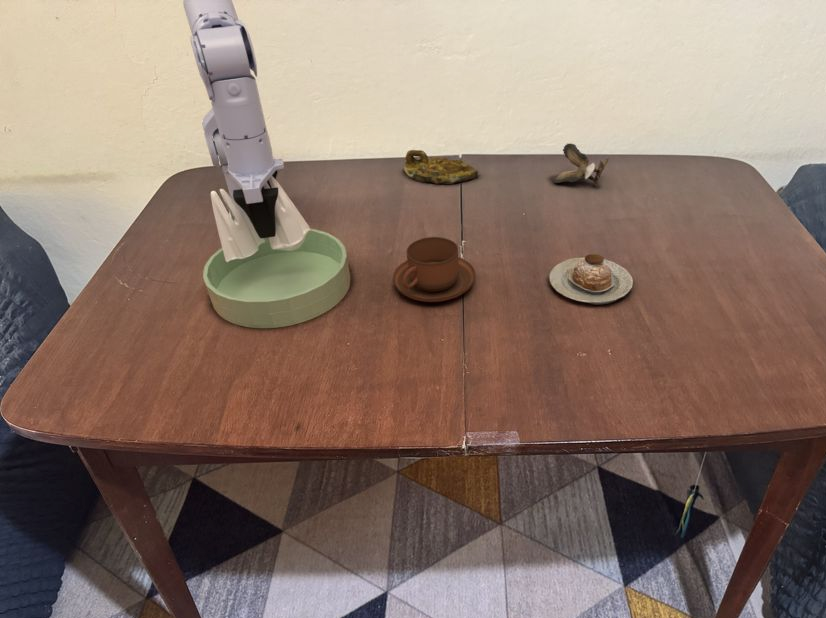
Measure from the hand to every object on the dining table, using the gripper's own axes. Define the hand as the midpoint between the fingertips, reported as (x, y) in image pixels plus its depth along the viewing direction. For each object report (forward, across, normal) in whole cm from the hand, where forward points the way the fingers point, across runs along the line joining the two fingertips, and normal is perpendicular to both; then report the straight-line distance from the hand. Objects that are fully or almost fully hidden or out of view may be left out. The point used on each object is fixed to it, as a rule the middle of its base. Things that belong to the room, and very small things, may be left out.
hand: (267, 228), depth 89 cm
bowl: (+10, 0, 0) cm, 10 cm away
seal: (+10, +32, -31) cm, 46 cm away
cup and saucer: (+10, -6, -22) cm, 25 cm away
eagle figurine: (+10, +21, -55) cm, 60 cm away
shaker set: (+4, 0, 0) cm, 4 cm away
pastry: (+10, -12, -44) cm, 47 cm away
